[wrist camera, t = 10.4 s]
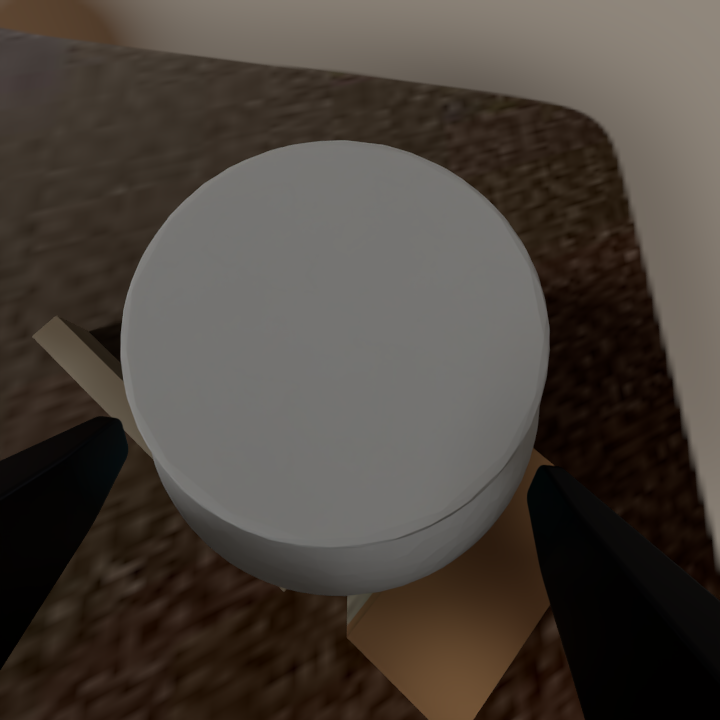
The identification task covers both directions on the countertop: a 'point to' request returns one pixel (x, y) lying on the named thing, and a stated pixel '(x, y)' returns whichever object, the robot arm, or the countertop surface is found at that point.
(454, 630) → the block
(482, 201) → the pill bottle
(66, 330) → the rail
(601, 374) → the countertop surface
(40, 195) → the countertop surface
